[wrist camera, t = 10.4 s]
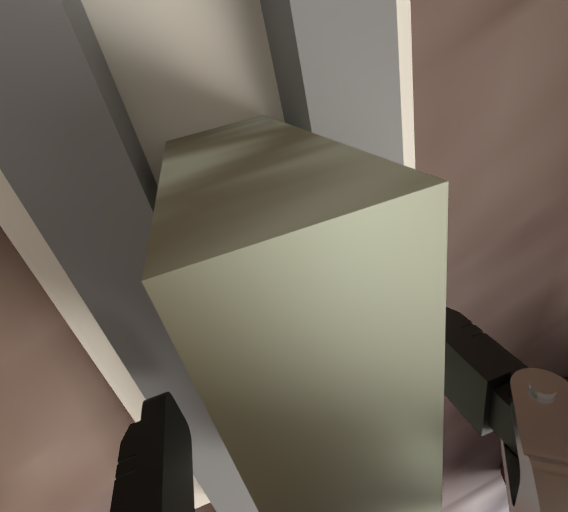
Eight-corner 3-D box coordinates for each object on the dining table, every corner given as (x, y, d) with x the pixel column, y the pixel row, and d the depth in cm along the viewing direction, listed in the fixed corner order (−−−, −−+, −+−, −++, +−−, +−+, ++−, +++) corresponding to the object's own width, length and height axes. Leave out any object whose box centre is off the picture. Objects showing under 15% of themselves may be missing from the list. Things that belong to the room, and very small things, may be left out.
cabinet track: (371, -149, 12) (483, -284, 8) (405, 389, 25) (452, 452, 21) (-149, -61, 10) (-410, -178, 5) (193, 477, 23) (197, 566, 19)
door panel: (262, 115, 13) (448, 181, 4) (323, 375, 19) (439, 606, 11) (165, 141, 12) (141, 281, 4) (262, 398, 19) (334, 660, 10)
